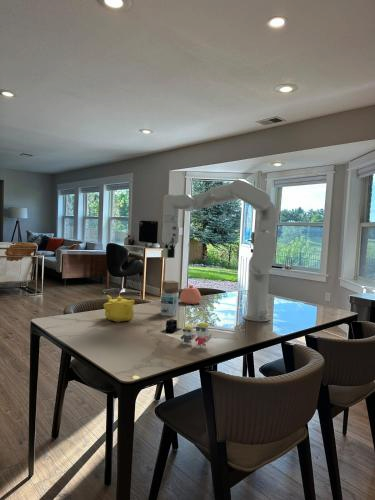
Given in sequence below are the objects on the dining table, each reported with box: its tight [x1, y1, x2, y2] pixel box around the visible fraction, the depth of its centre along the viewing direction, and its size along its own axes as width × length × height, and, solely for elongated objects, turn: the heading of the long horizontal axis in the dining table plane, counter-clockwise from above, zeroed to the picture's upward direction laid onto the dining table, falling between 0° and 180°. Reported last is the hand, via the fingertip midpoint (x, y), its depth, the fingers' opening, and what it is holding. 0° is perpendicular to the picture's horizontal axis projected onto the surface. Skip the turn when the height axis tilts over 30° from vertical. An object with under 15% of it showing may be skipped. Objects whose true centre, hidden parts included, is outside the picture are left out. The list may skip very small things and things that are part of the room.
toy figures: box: [180, 322, 213, 350], centre depth 128 cm, size 12×4×8 cm, turn 56°
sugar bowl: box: [179, 284, 202, 305], centre depth 204 cm, size 12×14×10 cm
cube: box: [161, 247, 176, 259], centre depth 177 cm, size 4×4×4 cm
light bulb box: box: [160, 290, 180, 317], centre depth 175 cm, size 11×7×11 cm, turn 170°
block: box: [161, 280, 180, 293], centre depth 175 cm, size 6×6×5 cm
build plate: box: [159, 318, 182, 335], centre depth 146 cm, size 12×7×5 cm, turn 154°
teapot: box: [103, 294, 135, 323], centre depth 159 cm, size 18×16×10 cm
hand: (168, 256), depth 177 cm, fingers closed on cube, 4 cm apart
